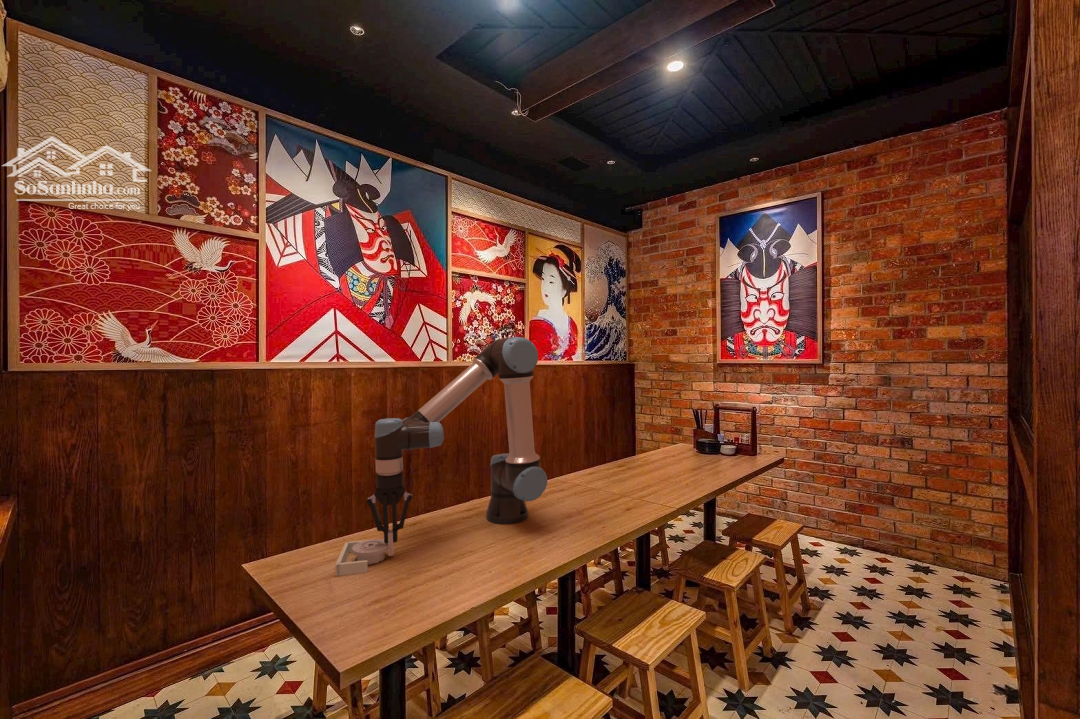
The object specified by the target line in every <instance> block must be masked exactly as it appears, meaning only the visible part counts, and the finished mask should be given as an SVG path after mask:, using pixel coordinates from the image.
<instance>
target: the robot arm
mask: <svg viewBox="0 0 1080 719" xmlns="http://www.w3.org/2000/svg"><path fill="white" fill-rule="evenodd" d="M538 361H539V352H538V349H537V347H536V345H535V344H534V342H532V341H531V340H529V339H528V338H526V337H523V336H513V337H505V338H498V339H496V340H494V341H493V342H491V343H490V344H489V345H488V346H486V347H485V348H484V349H483V350H482V351H481V352H480V353H479V354H478V355H476V356H475V357H474V358H473V359H472V363H471V364H470V365H469V366H468V367H467V368H466V369H464V370H463V371H462V372H461V373H460V374H458V375H457V376H456V377H455V378H454V379H453V380H452V381H450V382H449V383H448V384H447V385H445V387H444V388H442V389H440V391H439V392H437V393H436V394H435V395H434V396H433V397H432V398H431V399H430V400H429V401H427V402H426V403H425V404H424V405H423V406H421V408H419V409H418V410H417V411H416V412H414V413H413V414H412V415H410V416H409V417H405V418H404V419H401V418H398V417H396V418H395V417H392V418H391V417H390V418H389V417H388V418H382V419H378V420H377V421H375V424H374V425H375V426H374V448H375V450H374V451H375V453H374V454H375V455H374V456H375V473H376V474H375V489H374V493H373V495H371V496H369V497H367V499H366V503H367V505H368V507H370V510H371V513H372V517H373V520H374V525H375V527H376V531H378V532H383V540H384V543H388V550H387V551H388V554H387V555H388V556H393V555H394V551H395V550H394V549H395V547H394V543H397V542H398V531H399V530H403V528H404V525H405V521H406V518H407V517H406V516H407V512H408V508H409V504H410V503H411V501H412V499H413V493H409V492H407V491H406V489H405V487H404V473H403V472H402V471H403V470H404V464H403V463H404V462H403V461H404V460H403V458H404V457H403V451H411V450H417V449H419V450H420V449H429V448H430V449H432V448H436V447H440V446H442V444H443V442H444V427H443V425H442V424H441V423H440V422H441V421H442V420H443V419H444V418H446V416H448V415H449V414H450V413H451V412H452V411H453V410H455V408H457V407H458V406H459V405H460V404H461V403H462V402H464V400H466V399H467V398H468V397H469V396H470V395H471V394H473V393H474V391H476V390H477V389H478V388H479V387H480V386H482V385H483V384H484V383H485V382H486V381H487V380H488V381H492V380H493V379H494V378H495V377H496V376H498V380H499V381H501V382H502V384H503V385H504V387H503V388H504V390H503V391H504V402H505V412H506V415H505V416H506V425H507V427H506V428H507V439H508V452H507V453H500V454H499V453H498V454H493V455H492V456H491V458H490V464H489V466H490V499H489V502H488V505H487V509H486V511H485V512H486V513H485V515H486V516H485V518H486V520H487V521H488V522H489V523H492V524H496V525H497V524H498V525H514V524H520V523H522V522H524V521H526V520H527V519H528V517H529V510H528V507H527V504H526V502H533V501H536V500H537V499H539V498H540V497H541V496H542V494H543V493H544V492H545V491H546V489H547V485H548V476H547V473H546V472H545V470H544V469H543V468H542V467H541V457H540V455H539V454H537V453H536V451H535V450H536V449H535V438H534V437H535V436H534V435H535V434H534V425H533V424H534V423H533V410H532V408H533V407H532V396H531V383H530V382H531V380H533V378H534V377H535V376H534V375H535V374H534V373H535V372H534V368H535V367H536V366H537V364H538ZM402 498H403V500H404V503H403V506H402V511H401V514H400V516H401V517H400V519H399V523H398V503H399V502H400V501H401V500H402ZM377 501H378V502H379V503H380V504H381V505H382V516H383V517H382V518H383V521H382V520H381V517H380V514H379V511H378V507H377V504H376V502H377ZM389 506H391V509H392V510H391V514H392V515H391V516H392V518H391V519H392V520H391V521H392V522H391V523H392V529H389V528H390V525H389ZM382 522H383V524H382Z"/></svg>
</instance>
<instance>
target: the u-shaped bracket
mask: <svg viewBox="0 0 1080 719" xmlns="http://www.w3.org/2000/svg"><path fill="white" fill-rule="evenodd" d="M365 540H366V539H365ZM365 540H364V539H363V540H354V541H353V540H352V541H346V542H345V543H344V544H343V546H342V549H341V550H340V551H341V552H340V554H339V556H338V558H337V560H336V563H335V565H334V567H335V570H334V573H335V574H334V575H335V577H340V576H341V577H342V576H351V575H358V574H366V573H367V574H368V571H369V569H368V566H369V564H368V560H364V561H357V560H356V561H355V560H354V561H347V558H348V555H349V553H351V554H352V547H353V546H354V545H355V544H357V543H359V542H362V541H365Z"/></svg>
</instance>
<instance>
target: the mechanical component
mask: <svg viewBox="0 0 1080 719" xmlns="http://www.w3.org/2000/svg"><path fill="white" fill-rule="evenodd" d="M361 541H362V540H361ZM387 551H388V543H384V538H383V539H382V538H372V539H365V541H362V542H359V543H357V544H355V545H354V546H353V547H352V552H351V554H353V555H354V556H356V561H364V560H368V566H369V565H370V566H371V565H373V564H378V563H379V562H380V561H381V562H383V560H384V559H385V557H386V556H385V552H387Z"/></svg>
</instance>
